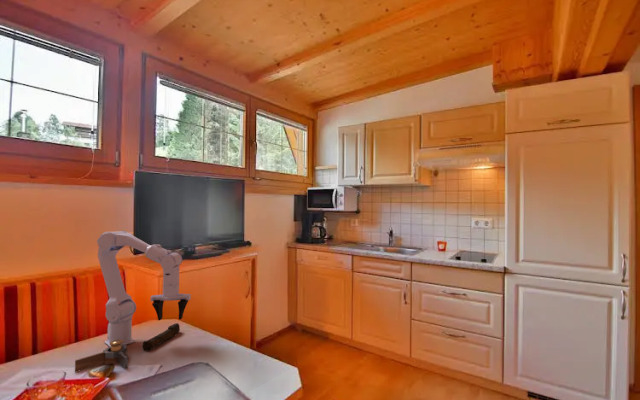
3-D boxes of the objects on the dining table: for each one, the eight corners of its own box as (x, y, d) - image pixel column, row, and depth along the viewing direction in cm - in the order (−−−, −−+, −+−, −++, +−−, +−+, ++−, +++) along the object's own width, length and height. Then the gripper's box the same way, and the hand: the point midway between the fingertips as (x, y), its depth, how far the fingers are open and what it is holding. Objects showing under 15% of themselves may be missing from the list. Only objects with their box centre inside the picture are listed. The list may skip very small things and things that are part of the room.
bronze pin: (113, 356, 107) (113, 339, 107) (124, 356, 107) (125, 339, 108) (106, 362, 103) (107, 344, 104) (118, 361, 104) (119, 343, 104)
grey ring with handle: (100, 359, 105) (101, 349, 105) (122, 353, 110) (122, 343, 110) (114, 372, 96) (115, 361, 96) (137, 365, 101) (137, 354, 101)
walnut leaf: (72, 368, 99) (73, 357, 99) (122, 353, 110) (122, 343, 110) (77, 374, 95) (78, 363, 95) (128, 358, 106) (129, 348, 106)
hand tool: (150, 352, 111) (151, 339, 111) (141, 351, 112) (142, 338, 112) (184, 333, 129) (185, 322, 130) (176, 332, 130) (177, 321, 131)
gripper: (147, 286, 115) (146, 323, 114) (186, 285, 116) (186, 321, 115) (155, 282, 122) (154, 317, 121) (192, 281, 123) (192, 315, 122)
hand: (170, 319), depth 119 cm, fingers open, 7 cm apart
